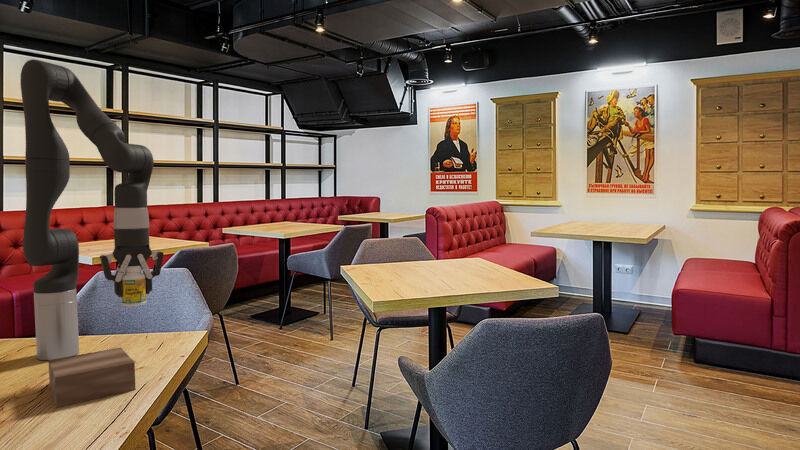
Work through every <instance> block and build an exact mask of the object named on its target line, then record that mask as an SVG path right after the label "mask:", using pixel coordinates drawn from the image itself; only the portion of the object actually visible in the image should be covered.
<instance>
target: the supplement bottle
mask: <svg viewBox="0 0 800 450" xmlns="http://www.w3.org/2000/svg"><path fill="white" fill-rule="evenodd" d="M123 268H124V267H123ZM121 282H122V297H120V298H121V305H122V306H123V307H138V306H143V305H145V304H146V303H147V294H146V279H145V275H144V274H143V272H142V266H129V267H127V268H126V270H125V273H124V274H123V276H122V279H121Z"/></svg>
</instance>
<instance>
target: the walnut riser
mask: <svg viewBox="0 0 800 450" xmlns="http://www.w3.org/2000/svg"><path fill="white" fill-rule="evenodd" d="M47 361H48V377H49V378H48V380H49V389H50V393H51V395H52V396H53V400H54V403H55V406H56V408H62V407H66V406H70V405H74V404H78V402H79V403H83V401H84V402H86V401H87V400H88V401H91V400H97V399H102V398H105V397H110V396H114V395H117V394H123V393H128V392H132V391H136V390H137V389H136V370H135V369H136V368H135V361H134V360H133V359H132V358H131V357H130V356H129V355H128V353H127V352H126V351H125V350H124V349H123V348H122V347H117V348H116V347H115V348H110V349H105V350H104V349H103V350H99V351H93V352H87V353H82V354H76V355H73V356H70V357H64V358H58V359H52V360H47ZM88 401H87V402H88Z"/></svg>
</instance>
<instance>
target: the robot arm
mask: <svg viewBox="0 0 800 450" xmlns="http://www.w3.org/2000/svg"><path fill="white" fill-rule="evenodd" d="M20 92H21V100H22V108H23V114H24V127H25V128H24V129H25V156H24V157H25V162H24V163H25V164H24V165H25V185H26V187H25V189H26V190H25V191H26V192H25V195H26V196H25V199H26V200H25V215H24V217H25V218H24V227H23V235H22V236H23V238H22V251H23V256H24V258H25V259H24V260H25V261H26V263H28V264H29V265H30V266H33V267H45V266H51V268H50V270H49V271H48V272H47V273H46V274H45V275H43V276H41V277H39V278H37V279H36V280H34V282H33V284H32V285H33V303H34V323H35V325H34V326H35V342H36V343H35V347H36V359H37V360H40V361H48V360H52V359H58V358H64V357H70V356H75V355H78V354H79V353H80V341H79V340H80V339H79V338H80V337H79V319H78V318H79V316H78V315H79V314H78V297H77V296H78V295H77V283H78V280H79V276H80V275H79V273H80V272H79V269H80V268H79V267H80V265H79V264H80V261H79V260H80V246H79V240H78V237H77V235H76V234H75V232H74V231H73V230H71V229H69V228H53V229H52V228H51V229H50V223H51V221H50V220H51V214H52V210H53V208H54V206H55V204H56V203H57V201H58V200H59V198H60V197H61V195H62V194H63V192H64V190H65V189H66V187H67V185H68V183H69V181H70V177H71V176H70V174H71V172H70V171H71V170H70V169H71V168H70V165H71V164H70V160H71V159H70V152H69V150H68V149H69V148H68V147H67V145H66V143H65V141H64V140H63V138H62V137H61V135H60V133H59V131H57V128H56V127H55V125H54V123H53V121H52V117H51V111H50V110H51V109H50V101H51V102H57V103H63V105H66V106H68V107H69V108H70V109H71V110H73V111H74V113H75V115H76V123H77V126H78V128H79V130H80V132H81V133H82V134H83V135H84V136H85V137H86V138H87V139H88V140H89V141H90V142H91V143H92V144H93V145H94V146H95V147H96V149H97V151H98V152H99V155H100V157H101V159H102V161H103V162H104V164H105V165H106V166H107V167H108V168H110V169H111V170H112V171H114V172H116V173H121V174H122V173H124V174H125V173H126V174H128V175H127V178H126V181H124V182H121V183H118V184H116V185H115V187H114V193H113V194H114V212H113V213H114V214H113V232H114V233H113V235H114V236H113V237H114V240H113V241H114V249H113V251H112V253H108V254H101V255H100V256H99V260H100V264H101V268H102V271H103V275H104V278H105V279H106V280H108V281H113V287H114V288H113V289H114V294H115V295H116V296H117V297H118V298H121V297H122V282H121V279H122V276H123V274H125V270H126V268H127V267H129V266H142V271H141V273H143V274H144V275H145V279H146V295H149V294H150V293H151V292H153V279H154V277H158V276H160V275H161V270H162V265H163V259H164V252H162V251H160V250H158V251H154V250H152V249H151V247H150V217H149V209H148V188H149V185H150V182H151V177H152V174H153V170H154V162H155V161H154V157H153V153H152V152H151V150H150V149H149V148H148V147H147V146H146V145H142V144H134V143H127V142H126V143H125V141H126V135H125V132H124V131H123V130H122V129H121V128H120V126H118V125H117V124H116V123H115V121H113V120H112V119H111V117H109V116H108V115H107V114H106V113H105V112H104V110H102V109H101V108H100V106H99V105H98V104H97V103H96V102H95V100H94V99H93V98H92V95H91V94H89V91H88V90H87V89H86V88H85V86H84V85H83V83H82V82H81V81H80V79H79V78H78V76H77V75H76V74H75V73H74V72H73V71H72V70H71V69H70V68H67V67H65V66H62V65H59V64H55V63H51V62H47V61H44V60H39V59H29V60H27V61H26V62H25V63H24V64H23V66H22V68H21V73H20ZM151 256H152V260H154V262H153V268H152V271H151V270H150V267H149V265H148V264H147V261H148V260H149V258H150V257H151ZM113 259H114V260H115V261H116V262H117V263H118V265H117V267H116V269H115V273H114V274H112V269H111V267H110V264H112V261H113ZM123 267H124V268H123Z"/></svg>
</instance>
